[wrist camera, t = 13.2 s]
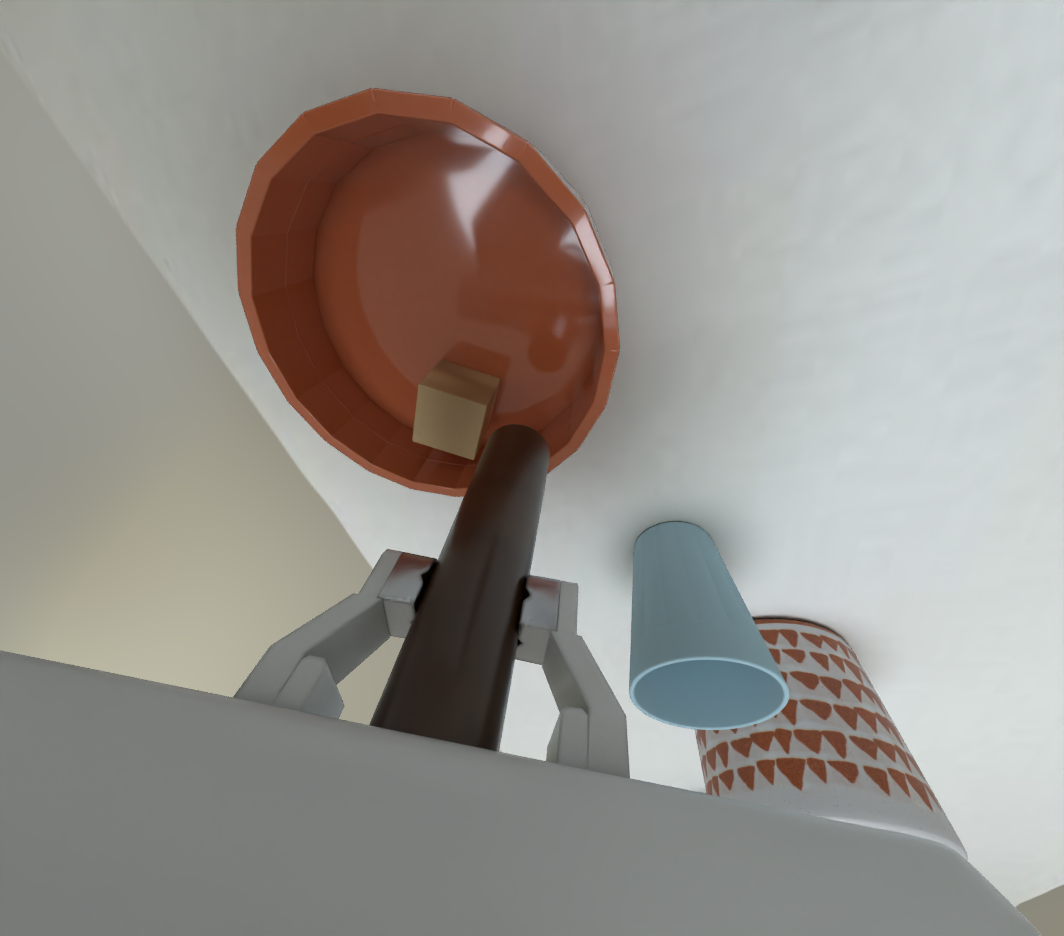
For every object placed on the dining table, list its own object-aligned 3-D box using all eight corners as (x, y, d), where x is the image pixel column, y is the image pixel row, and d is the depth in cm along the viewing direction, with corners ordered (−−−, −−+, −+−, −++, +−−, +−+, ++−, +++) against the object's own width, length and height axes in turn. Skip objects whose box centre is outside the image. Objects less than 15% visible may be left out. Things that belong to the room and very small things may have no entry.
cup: (739, 508, 25) (811, 665, 17) (720, 583, 30) (769, 737, 21) (621, 508, 27) (633, 653, 18) (619, 579, 31) (628, 723, 23)
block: (433, 411, 23) (411, 441, 21) (441, 358, 21) (417, 383, 18) (488, 429, 24) (473, 461, 21) (501, 378, 22) (487, 406, 19)
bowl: (341, 426, 26) (294, 469, 22) (270, 94, 16) (162, 60, 12) (580, 466, 25) (578, 518, 21) (654, 143, 15) (676, 125, 11)
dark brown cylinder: (485, 470, 18) (329, 882, 7) (488, 418, 16) (286, 862, 6) (546, 480, 17) (471, 913, 7) (554, 429, 16) (472, 904, 6)
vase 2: (824, 597, 29) (950, 818, 19) (869, 682, 34) (986, 889, 24) (656, 639, 35) (681, 824, 25) (717, 706, 40) (758, 880, 30)
